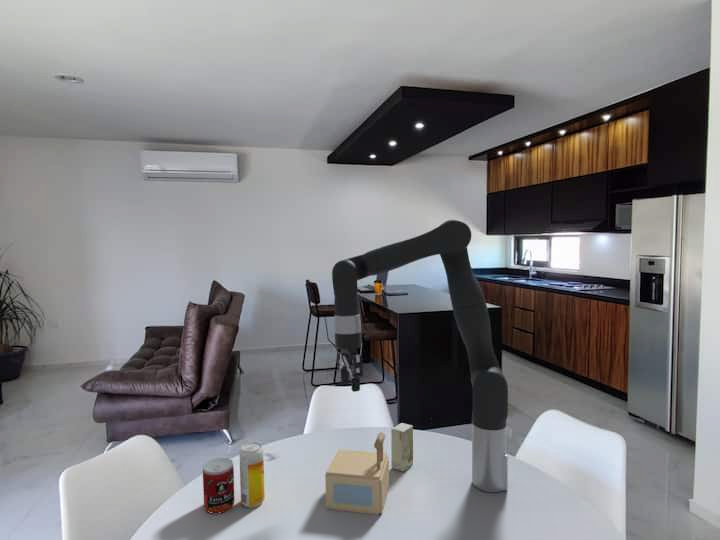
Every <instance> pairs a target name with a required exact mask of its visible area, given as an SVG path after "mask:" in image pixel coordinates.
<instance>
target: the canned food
mask: <svg viewBox="0 0 720 540" xmlns="http://www.w3.org/2000/svg"><path fill="white" fill-rule="evenodd" d="M234 470H235V469H234V461H233V459H231V458H227V457H217V458H214V459H211V460H208V461H206V462H205V463H204V465H203V466H202V484H203V485H202V486H203V490H202V491H203V507H204V510H205V509H206V510H207V511H209V512H212V513H219V512H223V511H226V510H228V509H229V508H230V509H232V507H233V506H234V504H235V473H234ZM230 509H229V510H230ZM206 510H205V511H206ZM229 510H228V511H229ZM207 511H206V512H207ZM226 512H227V511H226ZM223 513H224V512H223Z"/></svg>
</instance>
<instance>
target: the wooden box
mask: <svg viewBox="0 0 720 540" xmlns="http://www.w3.org/2000/svg"><path fill="white" fill-rule="evenodd" d="M389 459H390V458H389V456H388V455H387V456H386V459H385V463H384V466H383V469H382V472H381V476H380V479H369V478H359V477H348V476H337V475H326V474H325V477H324V479H325V509H326V510H332V511H333V510H334V511H342V512H351V513H359V514H360V513H361V514H367V515H368V514H369V515H378V516H381V514H383V511H384V506H385V503H386V500H387V495H388V491H389V488H390V465H389V464H390V461H389Z"/></svg>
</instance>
